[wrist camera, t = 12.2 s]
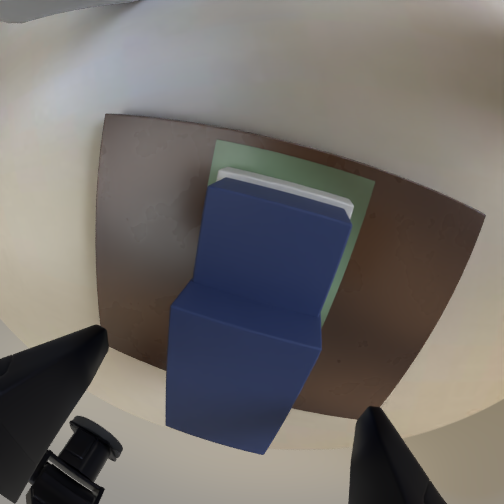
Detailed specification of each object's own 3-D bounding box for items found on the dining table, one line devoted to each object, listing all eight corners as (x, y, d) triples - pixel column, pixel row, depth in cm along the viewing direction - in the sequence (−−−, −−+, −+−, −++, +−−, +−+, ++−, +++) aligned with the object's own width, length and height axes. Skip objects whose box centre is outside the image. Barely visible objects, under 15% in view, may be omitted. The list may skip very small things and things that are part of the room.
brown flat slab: (366, 407, 17) (368, 422, 15) (111, 333, 18) (101, 344, 17) (474, 208, 11) (487, 215, 10) (119, 113, 12) (103, 113, 11)
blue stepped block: (277, 390, 15) (265, 460, 11) (193, 365, 16) (161, 429, 11) (350, 199, 11) (377, 239, 7) (226, 166, 11) (175, 185, 7)
